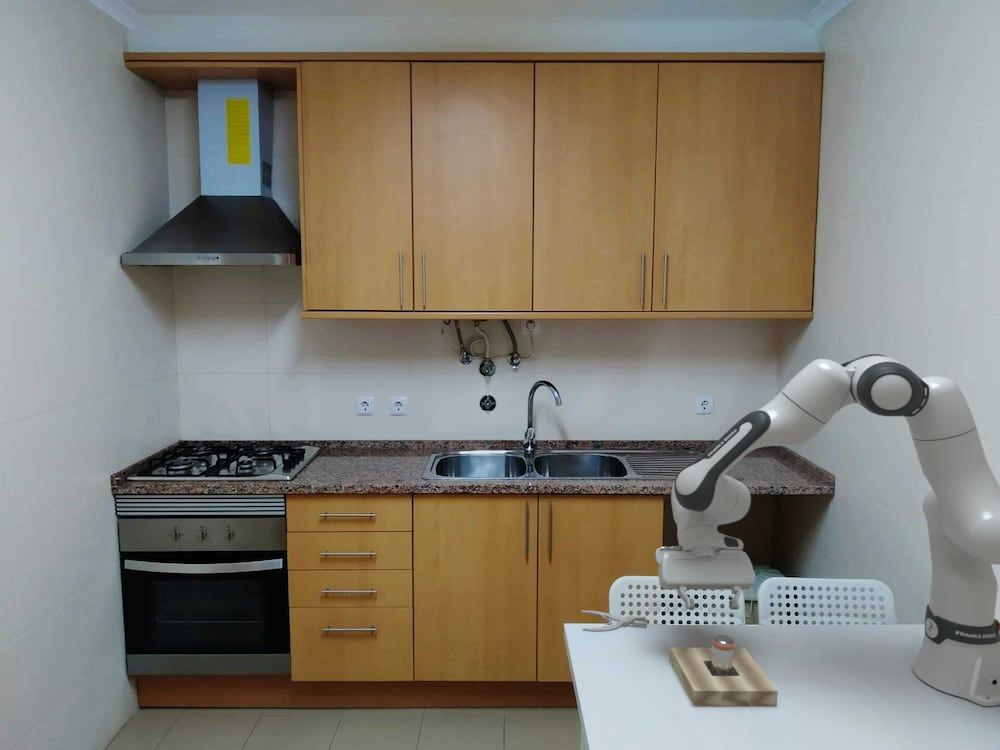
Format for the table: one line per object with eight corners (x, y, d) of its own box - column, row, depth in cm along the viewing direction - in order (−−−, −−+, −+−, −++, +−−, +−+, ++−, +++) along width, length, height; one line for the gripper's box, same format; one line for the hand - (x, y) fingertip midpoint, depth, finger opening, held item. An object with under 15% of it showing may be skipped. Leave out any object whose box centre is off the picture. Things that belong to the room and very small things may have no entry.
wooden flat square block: (743, 661, 147) (744, 647, 147) (776, 705, 131) (777, 691, 131) (669, 660, 147) (670, 647, 146) (693, 705, 131) (694, 691, 130)
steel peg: (726, 676, 141) (729, 634, 140) (734, 687, 137) (737, 645, 136) (707, 676, 141) (709, 634, 140) (714, 688, 137) (716, 645, 136)
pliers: (581, 606, 168) (643, 610, 167) (581, 612, 169) (643, 616, 167) (583, 625, 159) (649, 630, 157) (582, 632, 159) (648, 636, 158)
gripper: (656, 540, 150) (667, 603, 141) (749, 540, 151) (765, 603, 142) (650, 552, 154) (660, 614, 146) (740, 552, 155) (755, 614, 147)
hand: (713, 608), depth 144 cm, fingers open, 8 cm apart
